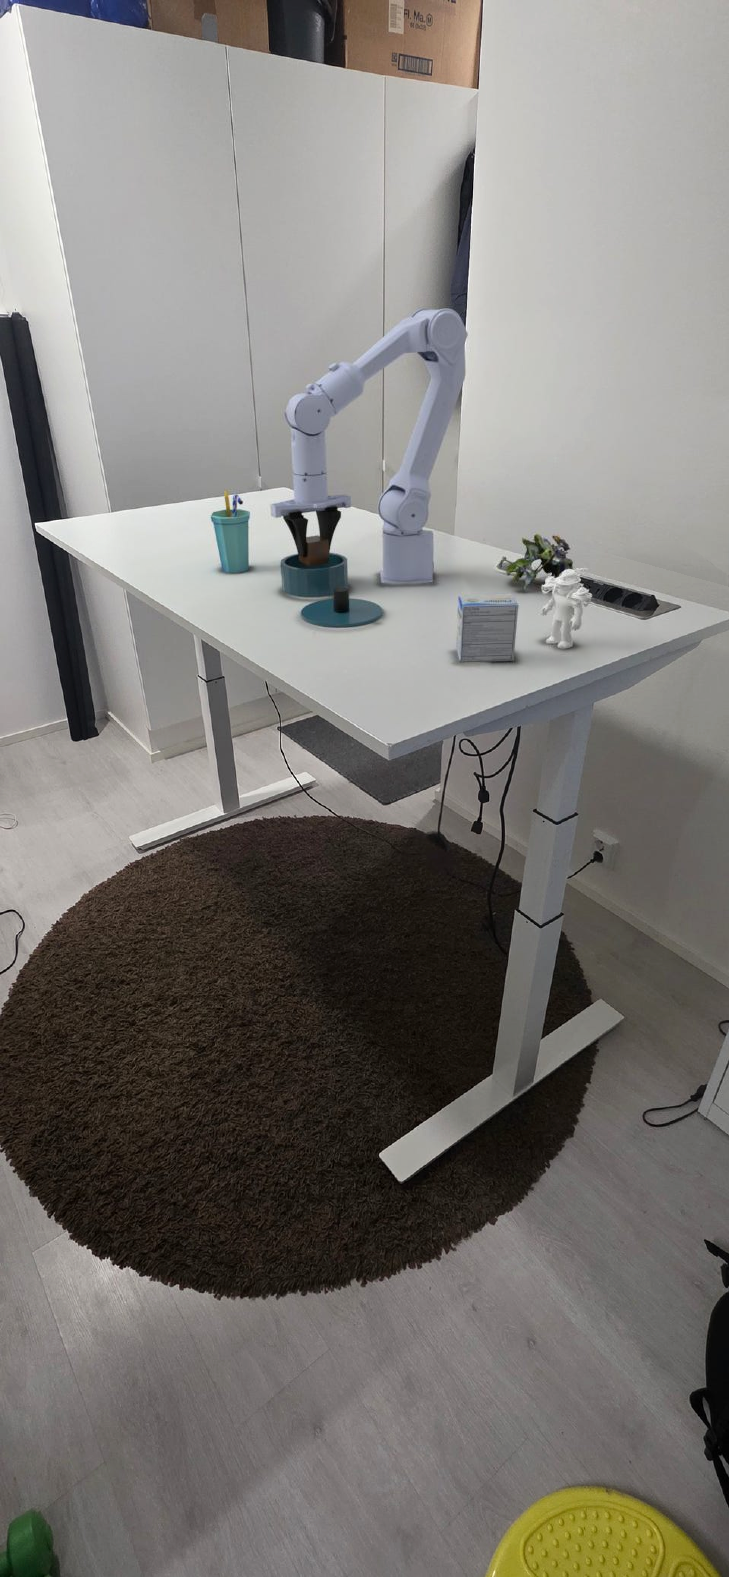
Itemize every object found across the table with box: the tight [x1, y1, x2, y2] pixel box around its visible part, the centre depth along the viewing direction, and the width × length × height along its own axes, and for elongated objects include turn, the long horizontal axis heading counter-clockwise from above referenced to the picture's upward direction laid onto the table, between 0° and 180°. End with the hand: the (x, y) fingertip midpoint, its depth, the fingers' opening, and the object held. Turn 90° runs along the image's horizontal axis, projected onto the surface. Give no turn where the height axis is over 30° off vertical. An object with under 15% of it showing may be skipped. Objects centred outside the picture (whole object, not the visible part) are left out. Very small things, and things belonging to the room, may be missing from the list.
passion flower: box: [498, 533, 575, 593], centre depth 144 cm, size 11×11×12 cm
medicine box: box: [455, 593, 520, 664], centre depth 115 cm, size 8×4×9 cm, turn 92°
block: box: [299, 534, 330, 566], centre depth 143 cm, size 4×4×4 cm
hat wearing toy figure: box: [540, 566, 593, 650], centre depth 119 cm, size 9×4×12 cm, turn 30°
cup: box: [210, 490, 251, 574], centre depth 155 cm, size 14×8×15 cm, turn 25°
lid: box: [300, 587, 383, 628], centre depth 133 cm, size 13×13×5 cm
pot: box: [280, 552, 349, 599], centre depth 146 cm, size 12×12×5 cm
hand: (313, 554), depth 144 cm, fingers closed on block, 4 cm apart
